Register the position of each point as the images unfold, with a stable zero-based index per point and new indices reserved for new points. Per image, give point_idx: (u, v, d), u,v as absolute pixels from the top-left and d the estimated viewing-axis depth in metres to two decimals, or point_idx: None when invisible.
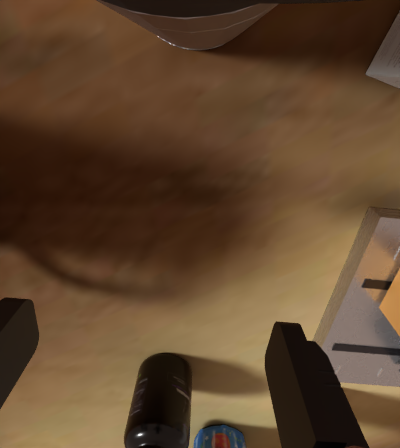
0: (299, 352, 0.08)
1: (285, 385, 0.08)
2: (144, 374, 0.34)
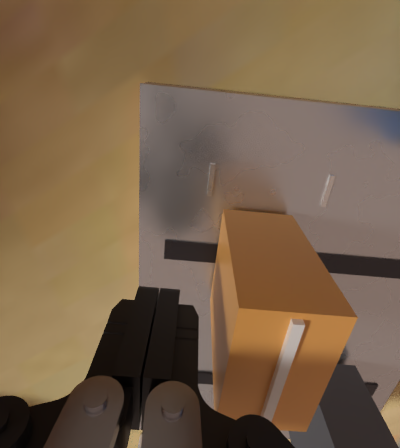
0: (165, 311, 0.09)
1: None
2: None
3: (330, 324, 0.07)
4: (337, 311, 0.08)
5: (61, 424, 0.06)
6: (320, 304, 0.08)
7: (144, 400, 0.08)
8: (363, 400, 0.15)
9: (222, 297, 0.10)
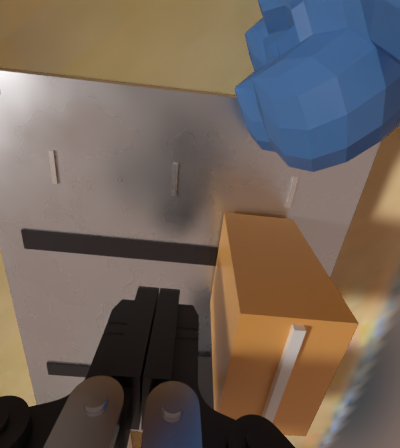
0: (165, 311, 0.09)
1: None
2: None
3: (331, 330, 0.08)
4: (338, 317, 0.08)
5: (61, 424, 0.06)
6: (321, 309, 0.08)
7: (144, 400, 0.08)
8: None
9: (223, 301, 0.10)
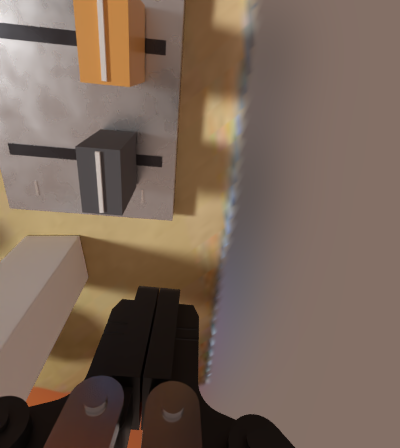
0: (165, 311, 0.09)
1: None
2: None
3: None
4: None
5: (61, 424, 0.06)
6: None
7: (144, 400, 0.08)
8: (124, 137, 0.24)
9: None
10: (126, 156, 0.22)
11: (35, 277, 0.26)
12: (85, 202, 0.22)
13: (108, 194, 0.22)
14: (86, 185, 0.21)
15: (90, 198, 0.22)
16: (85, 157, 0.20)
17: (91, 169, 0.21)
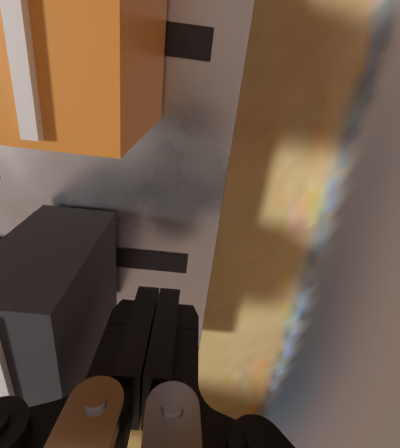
0: (165, 311, 0.09)
1: None
2: None
3: None
4: None
5: (61, 424, 0.06)
6: None
7: (144, 400, 0.08)
8: (85, 234, 0.11)
9: None
10: (83, 292, 0.09)
11: None
12: None
13: (30, 399, 0.09)
14: None
15: None
16: None
17: None
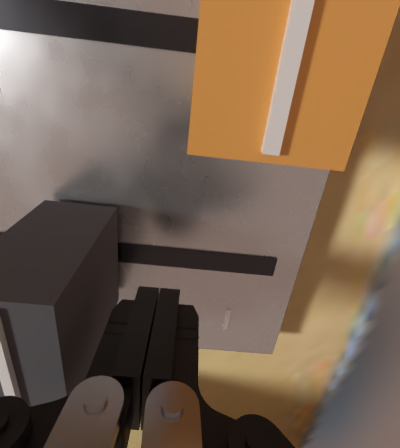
0: (165, 311, 0.09)
1: None
2: None
3: None
4: None
5: (61, 424, 0.06)
6: None
7: (144, 400, 0.08)
8: (86, 228, 0.11)
9: None
10: (85, 285, 0.09)
11: None
12: None
13: (34, 391, 0.09)
14: None
15: None
16: None
17: None
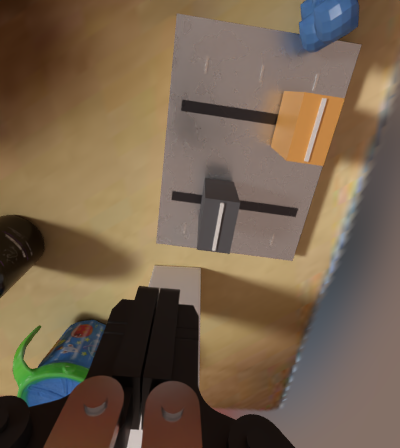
0: (165, 311, 0.09)
1: None
2: None
3: (335, 101, 0.21)
4: None
5: (61, 424, 0.06)
6: (332, 96, 0.22)
7: (144, 400, 0.08)
8: (230, 187, 0.28)
9: (288, 116, 0.24)
10: None
11: None
12: (201, 241, 0.26)
13: (222, 236, 0.26)
14: (205, 228, 0.26)
15: (206, 238, 0.26)
16: (211, 206, 0.25)
17: (213, 216, 0.25)
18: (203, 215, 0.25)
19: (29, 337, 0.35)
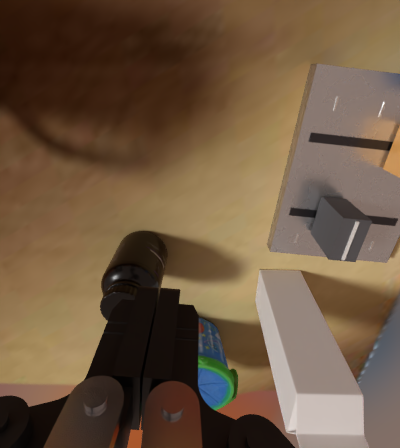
0: (165, 311, 0.09)
1: None
2: (122, 243, 0.38)
3: None
4: None
5: (61, 424, 0.06)
6: None
7: (144, 400, 0.08)
8: (349, 205, 0.33)
9: None
10: None
11: (307, 305, 0.36)
12: (333, 253, 0.32)
13: (352, 248, 0.31)
14: (339, 242, 0.31)
15: (338, 250, 0.31)
16: (347, 224, 0.30)
17: (347, 232, 0.30)
18: (339, 232, 0.31)
19: None
